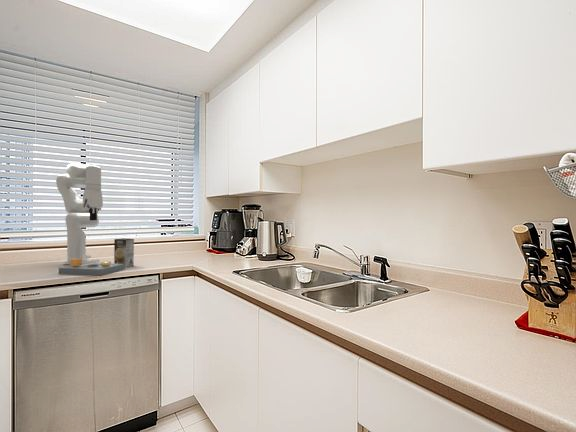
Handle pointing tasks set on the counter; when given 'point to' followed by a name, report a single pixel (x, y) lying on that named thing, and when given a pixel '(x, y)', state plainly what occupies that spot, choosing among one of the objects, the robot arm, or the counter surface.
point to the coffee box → (124, 251)
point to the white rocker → (92, 261)
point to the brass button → (105, 263)
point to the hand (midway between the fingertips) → (93, 220)
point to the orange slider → (75, 262)
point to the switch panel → (91, 269)
